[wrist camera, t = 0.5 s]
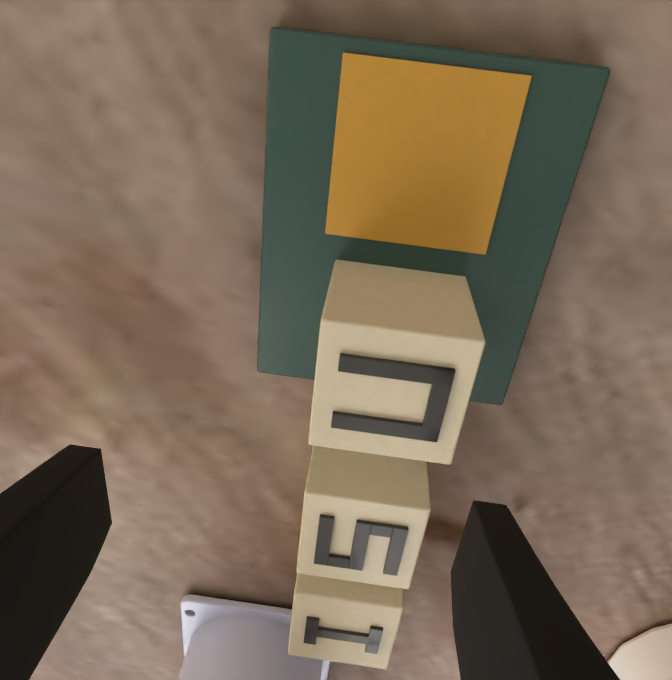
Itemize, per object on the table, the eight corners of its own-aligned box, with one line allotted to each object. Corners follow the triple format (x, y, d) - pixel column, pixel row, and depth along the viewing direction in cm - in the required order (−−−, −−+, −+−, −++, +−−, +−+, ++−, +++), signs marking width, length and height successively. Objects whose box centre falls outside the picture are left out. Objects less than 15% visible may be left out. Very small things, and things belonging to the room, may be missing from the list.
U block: (439, 384, 19) (451, 469, 16) (323, 367, 19) (306, 449, 16) (466, 275, 17) (487, 344, 13) (335, 258, 17) (319, 321, 14)
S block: (406, 503, 23) (409, 594, 20) (310, 490, 24) (295, 577, 20) (424, 428, 21) (431, 513, 18) (318, 413, 21) (303, 495, 18)
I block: (387, 581, 26) (387, 674, 22) (301, 568, 26) (286, 659, 22) (402, 521, 24) (404, 612, 20) (308, 508, 24) (293, 596, 20)
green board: (498, 393, 20) (503, 408, 19) (261, 361, 20) (255, 374, 20) (602, 66, 15) (614, 68, 14) (275, 26, 15) (268, 25, 14)
